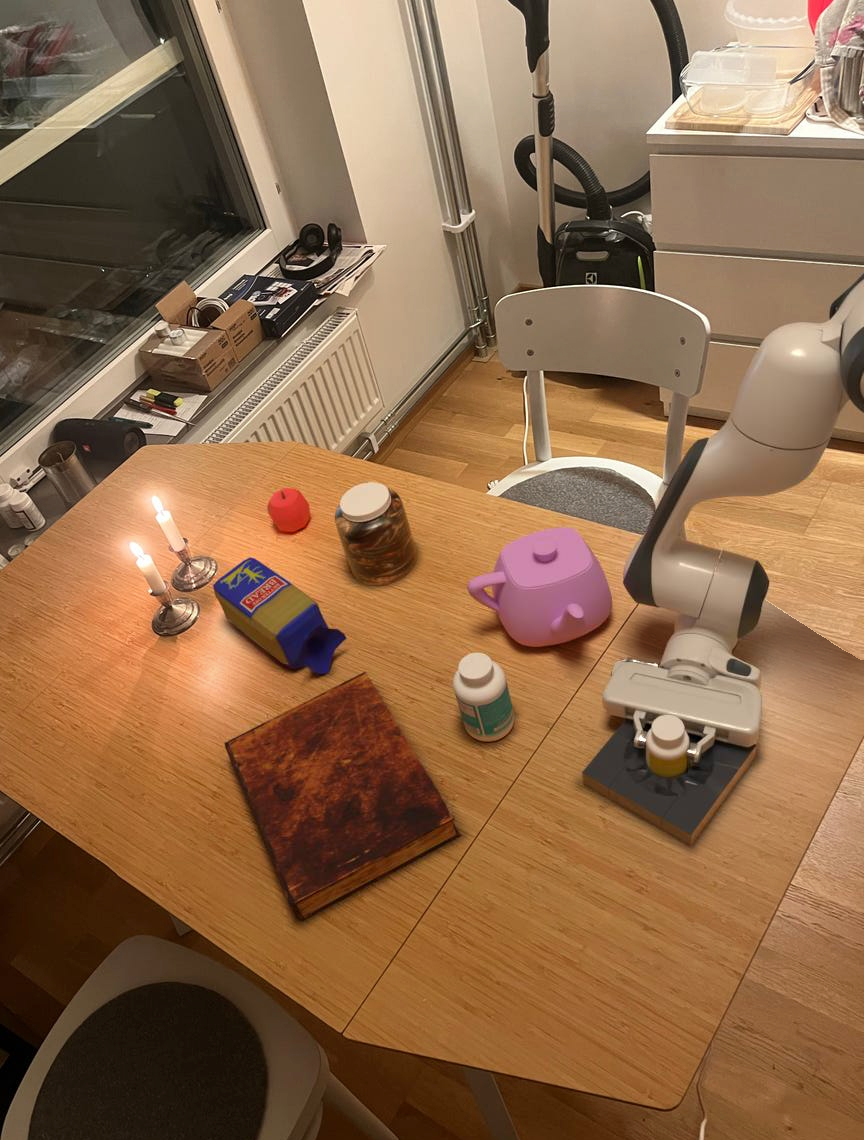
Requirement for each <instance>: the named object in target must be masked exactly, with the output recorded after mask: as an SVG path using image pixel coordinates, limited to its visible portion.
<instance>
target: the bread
mask: <svg viewBox="0 0 864 1140" xmlns="http://www.w3.org/2000/svg"><path fill="white" fill-rule="evenodd" d="M212 587H213V592H214V596H215V598H216V600H217V601H218V603H219V605H220V606H221V609H222V611H223V613H224V616H225V618H226V619H227V620H228V621H229V622H230V623H231V624H233V625H234V626H235V627H236V628H238V629H239V630H240V631H241V632H243V634H245V635H246V636H247V637H248V638H249V639H250V640H252V641H253V642H255V643H256V644H257V645H259V646H260V647H261V648H262V649H264V650H265V651H266V652H267V653H268V654H270V655H271V656H273V657H274V658H275V659H277V660H278V661H279V662H281V663H282V664H283V665H285V666H286V667H288V668H290V669H293V670H295V671H296V670H298V669H302V668H304V667H306V668H308V669H310V670H311V671H313V672H314V673H315V674H321V675H325V674H328V673H331V663H332V658H333V656H334V654H335V652H336V650H337V649H338V648H339V647H340V646H341V645H342V643H343V642H345V641H346V640H347V636H346V634H345V633H344V632H342V631H341V630H339V629H338V628H329V626H328V624H327V622H326V619H324V616H323V614H322V611H321V609H320V605H319V603H318V602H317V601H316V600H314V599H313V597H311V596H310V595H308V594H306V593H305V592H304V591H303V590H301V589H300V588H298V587H297V586H296V585H295V584H294V583H292V582H290V581H289V580H287V579H286V578H284V577H283V576H281V575H280V574H278V572H276V571H274V570H273V569H271V568H270V567H268V566H267V565H265V564H264V563H262V562H261V561H260V560H258V559H256V558H255V557H248V558H246V559H244V560H242V561H241V562H239V563H238V564H237V565H236V566H234V567H233V568H232V569H231V570H229V571H227V573H225V574H224V575H223V576H221V577H220V578H219V579H217V580H216V582H215V583H213V584H212Z"/></svg>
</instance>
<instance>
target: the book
mask: <svg viewBox="0 0 864 1140" xmlns="http://www.w3.org/2000/svg"><path fill="white" fill-rule="evenodd" d="M224 749H225V750H226V753H227V756H228V758H229V760H230V763H231V765H232V768H233V770H234V772H235V776H236V777H237V780H238V783H239V784H240V787H241V789H242V791H243V795H244V797H245V799H246V801H247V804H248V806H249V809H250V811H251V815H252V816H253V819H254V821H255V824H256V826H257V829H258V831H259V833H260V835H261V839H262V841H263V844H264V845H265V848H266V850H267V853H268V855H269V858H270V860H271V863H272V865H273V867H274V870H275V872H276V875H277V878H278V880H279V882H280V885H281V888H282V889H283V892H284V894H285V897H286V899H287V901H288V904H289V906H290V907H291V909H292V911H293V912H294V913H295V915H296V916H297V918H298V919H299V920H300V921H302V922H304V921H305V920H308V919H310V918H312V917H313V916H315V915H317V914H320V913H321V912H323V911H324V910H327V909H328V908H331V907H332V906H333V905H336V904H337V903H340V902H342V901H343V900H345V899H348V898H349V897H350V896H353V895H355V894H357V893H358V892H360V891H363V890H364V889H366V888H367V887H369V886H371V885H373V884H375V883H376V882H379V881H380V880H382V879H384V878H386V877H388V876H390V875H391V874H393V873H396V872H397V871H399V870H401V869H403V868H405V867H407V866H409V865H410V864H412V863H414V862H416V861H418V860H419V859H422V858H423V857H425V856H427V855H429V854H431V853H433V852H434V851H436V850H438V849H440V848H442V847H444V846H445V845H447V844H449V843H451V842H453V841H455V840H457V839H458V838H460V837H462V833H461V832H460V830H459V828H458V827H457V825H456V823H455V822H454V820H456V818H455V816H454V814H453V812H452V811H451V809H450V808H449V806H448V805H447V803H446V801H445V800H444V798H443V797H442V795H441V793H440V791H439V790H438V788H437V786H436V785H435V783H434V781H433V779H432V778H431V777H430V775H429V773H428V771H427V770H426V768H425V767H424V764H423V763H422V762H421V760H420V758H419V757H418V755H417V753H416V752H415V750H414V748H413V747H412V745H411V744H410V742H409V741H408V738H407V737H406V736H405V734H404V731H403V730H402V729H401V727H400V725H399V724H398V722H397V720H396V719H395V717H394V715H393V714H392V712H391V710H390V709H389V708H388V705H387V704H386V702H385V700H383V698H382V695H381V694H380V693H379V691H378V689H377V687H376V686H375V684H374V682H373V681H372V679H371V678H370V676H369V675H368V673H367V671H363V672H362V673H360V674H357V675H356V676H353V677H352V678H350V679H347V680H345V681H344V682H342V683H339V684H338V685H336V686H333V687H332V688H330V689H327V690H326V691H324V692H322V693H320V694H317V695H316V696H314V697H312V698H310V699H308V700H306V701H304V702H302V703H300V704H298V705H297V706H294V707H292V708H290V709H288V710H287V711H284V712H283V713H280V714H279V715H277V716H275V717H272V718H270V719H269V720H267V721H264V722H263V723H261V724H258V725H257V726H255V727H253V728H251V729H249V730H247V731H245V732H242V733H241V734H239V735H237V736H235V737H233V738H231V739H229V740H227V741H225V742H224Z"/></svg>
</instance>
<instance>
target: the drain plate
mask: <svg viewBox="0 0 864 1140" xmlns="http://www.w3.org/2000/svg"><path fill="white" fill-rule="evenodd" d="M651 728H652V724H648V723H646V724H645V726H644V728H642V729H643V731H646V732H648V731H649V730H650V729H651ZM687 734H688V736H689V745H690V742H691V743H695V744H697V743H698V742H699V741H700V740H702V739H703V737H702V736H698V735H694V734H690V733H687ZM635 736H636V732H635V729H634V723H633V720H631V719H627V718H624V720H623V722H622V723H621V724H620V725H619V727H618V728H617V729H616V730H615V732H614V733H613V734H612V735H611V736H610V737H609V739H608V740H607V741H606V743H605V744H604V745H603V746H602V747H601V748H600V750H599V751H598V752H597V754H596V755H595V756H594V757H593V758H592V760H591V761H590V762H589V763H588V764H587V766H586V767H585V768H584V769H583V770H582V772H581V775H582V783H583V785H584V786H586V787H587V788H588V789H591V790H592V791H594V792H596V793H597V794H599V795H601V796H603V797H605V798H606V799H608V800H610V801H611V802H613V803H615V804H617V805H618V806H620V807H622V808H624V809H626V810H627V811H628V812H630V813H633V814H634V815H636V816H638V817H639V818H641V819H643V820H644V821H645V822H648V823H650V824H651V825H653V826H655V827H656V828H658V829H660V830H662V831H663V832H665V833H667V834H669V835H671V836H672V837H674V838H676V839H677V840H679V841H681V842H682V843H684V844H686V845H687V846H689V847H692V845H693V844H694V843H695V841H696V840H697V839H698V837H699V836H700V835H701V834H702V832H703V831H704V829H705V827H706V826H707V825H708V823H709V822H710V820H711V819H712V818H713V816H714V815H715V813H716V812H717V811H718V809H719V808H720V807H721V805H722V804H723V802H724V801H725V800H726V798H727V797H728V796H729V794H730V793H731V791H732V790H733V789H734V787H735V786H736V784H737V783H738V782H739V780H740V779H741V778H742V776H743V775H744V774H745V772H746V771H747V769H748V768H749V767H750V765H751V764H752V763H753V761H754V760H755V758H756V754H757V746H758V745H757V743H755V744H754V745H752V746H750V747H744V746H740V745H736V744H732V743H727V742H723V741H719V740H715V741H714V744H713V745H712V746H711V747H710V748H708V749H707V750H706V751H704V752H703V753H701V756H700V759H699V762H694V761H690V760H689V762H688V764H689V765H690V768H688V772H687V773H686V774H684V775H682V776H681V777H678V778H672V779H666V778H660V777H658V776H657V775H655V774H653V773H651V772H650V770H649V769H648V768H647V767H646V749H643V748H639V747H635V746H634V739H635Z"/></svg>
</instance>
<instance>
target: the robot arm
mask: <svg viewBox="0 0 864 1140" xmlns="http://www.w3.org/2000/svg"><path fill="white" fill-rule="evenodd" d="M828 318H829V319H828V320H827V321H825V322H820V323H819V322H807V321H802V322H801V321H799V322H791V323H788V324H784V325H782V326H780V327H777V328H776V329H774V330H773V331H771V332H770V333H769V334H768V335H767V336H766V337H764V339H763V340H762V341H761V343H760V345H759V347H758V348H757V350H756V352H755V354H754V355H753V357H752V359H751V361H750V363H749V365H748V366H747V369H746V371H745V374H744V376H743V377H742V380H741V382H740V385H739V387H738V390H737V393H736V395H735V398H734V400H733V404H732V407H731V410H730V413H729V416H728V418H727V420H726V422H725V423H724V424H723V425H722V426H721V428H720V429H719V430H717V431H716V432H715V433H714V434H712V435H711V436H707V437H704V438H699V439H697V440H696V441H695V442H694V443H693V444H692V445H691V446H690V447H689V449H688V450H687V452H686V453H685V454H684V456H683V458H682V460H681V462H680V464H679V466H678V467H677V469H676V471H675V472H674V473H673V475H672V477H671V479H670V481H669V483H668V485H667V487H666V489H665V491H664V493H663V495H662V496H661V499H660V500H659V502H658V504H657V506H656V509H655V511H654V512H653V514H652V516H651V518H650V520H649V523H648V525H647V527H646V529H645V531H644V532H643V534H642V536H640V537H639V539H638V540H637V542H636V543H635V544H634V546H633V547H632V548H631V549H630V552H629V554H628V556H627V558H626V560H625V563H624V567H623V571H622V585H623V586H624V588H625V590H626V592H627V593H628V595H629V596H630V597H631V599H632V600H633V601H634V602H635V603H636V604H639V605H644V606H649V607H653V608H660V609H661V608H662V609H665V610H667V611H672V612H675V613H677V615H676V617H675V618H676V619H675V621H674V626H673V628H674V633H673V634H672V635H671V636H670V638H669V640H668V641H667V643H666V646H665V649H664V651H663V653H662V657H661V659H660V662H656V661H651V660H644V659H639V658H636V657H632V656H628V657H627V658H623V659H619V660H616V661H615V662H614V665H613V667H612V669H611V672H610V678H609V680H608V682H607V684H606V686H605V687H604V690H603V692H602V695H601V696H602V697H601V701H602V703H601V704H602V707H603V709H604V711H605V713H606V714H607V715H611V716H614V717H619V718H623V719H626V718H627V719H631V720H633V723H634V729H635V732H636V736H635V739H634V746H635V747H639V748H643V749H646V736H647V733H648V732H646V731H643V729H642V728H644V726H645V724H646V723H648V724H652V723H653V721H654V720H655V719H656V718H658V717H659V716H662V715H672V716H675V717H677V718H679V719H680V720H681V721H682V722H683V724H684V730H685V731H686V732H687V733H690V734H694V735H698V736H702V737H703V739H702V740H700V741H699V742H698V743H697V744H695V743H691V742H690V745H689V749H688V751H687V758H686V759H687V760H690V761H694V762H699V759H700V756H701V753H703V752H704V751H706V750H707V749H708V748H710V747H711V746H712V745H713V744H714V741H715V740H719V741H723V742H727V743H732V744H736V745H740V746H744V747H750V746H752V745H754V744H757V743H758V739H759V734H760V728H761V722H762V721H761V720H762V712H763V696H762V695H763V694H762V692H761V686H762V676H761V675H762V674H761V670H760V669H759V668H758V667H757V666H754V665H752V664H751V663H748V662H746V661H743V660H742V659H740V658H738V657H736V656H734V655H733V650H734V649H735V647H736V645H737V644H738V642H739V639H741V638H743V637H745V636H746V635H748V634H749V633H751V632H752V631H754V630H755V629H756V627H757V625H758V623H759V621H760V619H761V613H762V609H763V604H764V601H765V599H766V597H767V594H768V591H769V587H770V579H769V577H768V574H767V572H766V570H765V568H764V566H763V565H762V563H761V562H760V561H759V560H758V559H754V558H753V557H749V556H747V555H743V554H739V553H736V552H732V551H728V550H724V549H719V548H715V547H713V546H709V545H708V546H707V545H704V544H702V543H698V542H694V541H689V540H687V539H685V538H683V537H681V536H680V535H679V533H680V532H681V529H682V528H683V526H684V524H685V522H686V521H687V519H688V517H689V515H690V513H691V511H692V510H693V509H694V508H695V507H696V506H697V505H699V504H701V503H703V502H706V501H710V500H716V499H724V498H725V499H726V498H740V497H744V498H746V497H748V498H749V497H750V498H753V497H754V498H755V497H758V498H759V497H767V496H772V495H776V494H779V493H782V492H785V491H788V490H790V489H792V488H794V487H796V486H798V485H799V484H800V483H802V482H803V481H805V480H806V479H807V478H809V476H810V475H811V474H813V472H814V470H815V469H816V467H817V466H818V464H819V462H820V461H821V459H822V456H823V455H824V453H825V452H826V448H827V447H828V444H829V442H830V441H831V437H832V435H833V433H834V430H835V427H836V426H837V421H838V419H839V416H840V413H841V412H842V410H843V409H844V407H845V406H846V404H847V403H848V402H849V401H851V403H852V404H853V405H854V406H855V408H856V409H858V410H859V411H860V412H862V413H863V414H864V272H863V273H862V274H861V275H860V276H859V277H858V278H857V279H856V280H855V281H854V282H853V284H851V286H850V287H848V288H847V289H846V290H845V291H843V293H841V294H840V295H839V296H838V297H836V299H834V300H833V302H832V303H831V305H830V306H829V315H828Z"/></svg>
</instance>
